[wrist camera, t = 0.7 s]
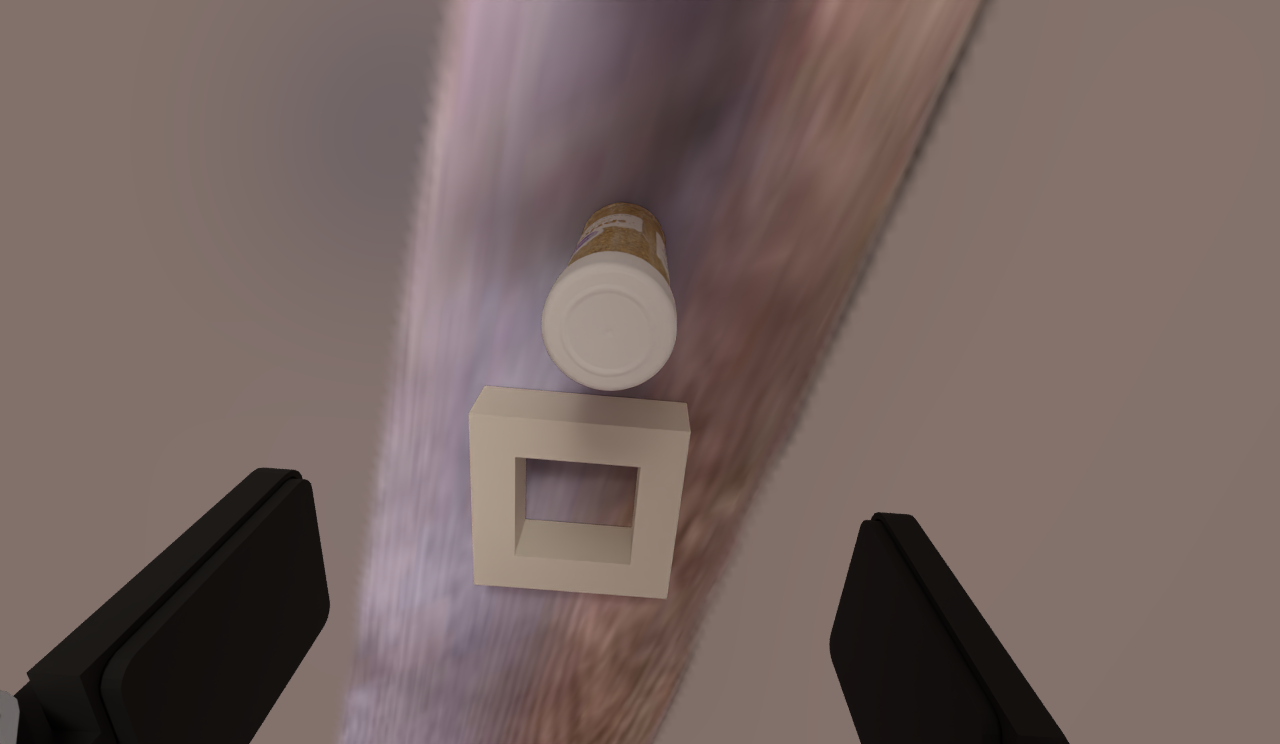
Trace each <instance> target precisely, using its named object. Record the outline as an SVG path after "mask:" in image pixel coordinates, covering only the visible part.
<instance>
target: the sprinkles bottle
mask: <svg viewBox="0 0 1280 744" xmlns="http://www.w3.org/2000/svg"><path fill="white" fill-rule="evenodd" d="M541 331H542V337H543V341H544V344H545V347H546V349H547V352H548V354H549V356H550V357H551V359H552V360H553V362H554V363H555V365H556V366H557V367H558V368H559V369H560V370H561V371H562V372H563V373H564V374H565V375H566V376H568V377H569V378H571V379H572V380H574V381H576V382H577V383H579V384H582V385H584V386H587V387H590V388H593V389H598V390H605V391H617V390H624V389H628V388H632V387H635V386H637V385H640V384H642V383H644V382H645V381H647V380H649V379H650V378H651V377H653V376H654V375H655V374H657V373H658V372H659V371H660V370H661V368H662V367H663V366H664V365H665V363H666V362H667V361H668V359H669V357H670V355H671V353H672V351H673V348H674V345H675V342H676V336H677V311H676V305H675V300H674V297H673V294H672V291H671V289H670V279H669V270H668V264H667V256H666V250H665V237H664V234H663V231H662V229H661V225H660V224H659V222H658V221H657V220H656V218H655V217H654V216H653V215H652V214H651V213H650V212H649V211H648V210H646V209H645V208H643V207H640V206H638V205H635V204H630V203H623V202H621V203H614V204H611V205H607V206H605V207H603V208H602V209H600V210H598V211H597V212H595V213H594V214H593V215H592V217H591V218H590V219H589V220H588V221H587V223H586V225H585V227H584V229H583V233H582V236H581V238H580V240H579V242H578V244H577V246H576V248H575V250H574V252H573V254H572V257H571V259H570V261H569V263H568V267H567V268H566V269H565V270H564V271H563V272H562V273H561V274H560V276H559V277H558V278H557V280H556V281H555V283H554V285H553V287H552V288H551V291H550V293H549V295H548V297H547V299H546V302H545V305H544V308H543V313H542V319H541Z"/></svg>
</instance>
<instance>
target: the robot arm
mask: <svg viewBox="0 0 1280 744" xmlns="http://www.w3.org/2000/svg"><path fill="white" fill-rule="evenodd" d="M329 608H330V601H329V594H328V588H327V581H326V575H325V568H324V562H323V555H322V549H321V542H320V536H319V530H318V523H317V517H316V510H315V504H314V498H313V491H312V486H311V483H310V482H309V481H308V480H305V479H302V475H301V474H300V473H299V472H298V471H296V470H289V469H275V468H258V469H256V470H254V471H253V472H252V473H251V474H250V475H248V476H247V477H246V478H245V479H244V480H243V481H242V482H241V483H239V484H238V485H237V486H236V487H235V488H234V489H233V490H232V491H231V492H230V493H228V494H227V495H226V496H225V497H224V498H223V499H221V500H220V501H219V502H218V503H217V504H216V505H215V506H214V507H212V508H211V509H210V510H209V511H208V512H207V513H206V514H205V515H203V516H202V517H201V518H200V519H199V520H198V521H197V522H196V523H194V524H193V525H192V526H191V527H190V528H189V529H188V530H187V531H185V532H184V533H183V534H182V535H181V536H180V537H179V538H178V539H177V540H175V541H174V542H173V543H172V544H171V545H170V546H169V547H167V548H166V549H165V550H164V551H163V552H162V553H161V554H160V555H158V556H157V557H156V558H155V559H154V560H153V561H152V562H151V563H149V564H148V565H147V566H146V567H145V568H144V569H143V570H142V571H141V572H139V573H138V574H137V575H136V576H135V577H134V578H133V579H131V580H130V581H129V582H128V583H127V584H126V585H125V586H124V587H123V588H121V589H120V590H119V591H118V592H117V593H116V594H115V595H113V596H112V597H111V598H110V599H109V600H108V601H107V602H106V603H105V604H103V605H102V606H101V607H100V608H99V609H98V610H97V611H95V612H94V613H93V614H92V615H91V616H90V617H89V618H88V619H87V620H85V621H84V622H83V623H82V624H81V625H80V626H79V627H78V628H76V629H75V630H74V631H73V632H72V633H71V634H70V635H68V636H67V637H66V638H65V639H64V640H63V641H62V642H61V643H60V644H58V645H57V646H56V647H55V648H54V649H53V650H52V651H51V652H49V653H48V654H47V655H46V656H45V657H44V658H43V659H42V660H40V661H39V662H38V663H37V664H36V665H35V666H34V667H33V668H31V669H30V670H29V671H28V672H27V675H28V677H29V679H30V681H29V682H28V683H27V684H26V685H25V686H24V687H23V688H22V689H21V690H19V691H18V692H17V693H16V694H15V695H14V696H12V695H11V694H9V693H8V692H6V691H1V690H0V744H249V743H250V742H251V740H252V739H253V737H254V736H255V734H256V732H257V731H258V729H259V728H260V726H261V725H262V723H263V721H264V720H265V718H266V717H267V715H268V713H269V712H270V710H271V709H272V707H273V705H274V704H275V703H276V701H277V699H278V698H279V696H280V694H281V693H282V691H283V690H284V688H285V687H286V685H287V684H288V682H289V680H290V679H291V677H292V676H293V674H294V673H295V671H296V670H297V668H298V666H299V665H300V663H301V662H302V660H303V658H304V657H305V655H306V654H307V652H308V651H309V649H310V648H311V646H312V644H313V643H314V641H315V639H316V638H317V636H318V635H319V633H320V632H321V630H322V628H323V627H324V625H325V623H326V621H327V618H328V614H329ZM830 654H831V659H832V662H833V665H834V668H835V671H836V673H837V676H838V679H839V682H840V685H841V688H842V691H843V694H844V696H845V699H846V702H847V705H848V707H849V711H850V713H851V716H852V719H853V722H854V725H855V727H856V731H857V733H858V736H859V739H860V742H861V744H1069V742H1068V741H1067V739H1066V737H1065V735H1064V734H1063V732H1062V731H1061V729H1060V728H1059V727H1058V725H1057V724H1056V722H1055V721H1054V719H1053V718H1052V716H1051V715H1050V714H1049V712H1048V711H1047V709H1046V708H1045V706H1044V705H1043V703H1042V702H1041V700H1040V699H1039V698H1038V696H1037V695H1036V693H1035V692H1034V690H1033V689H1032V687H1031V686H1030V684H1029V683H1028V682H1027V680H1026V679H1025V677H1024V676H1023V674H1022V673H1021V671H1020V670H1019V669H1018V667H1017V666H1016V664H1015V663H1014V661H1013V660H1012V658H1011V657H1010V655H1009V654H1008V653H1007V651H1006V650H1005V648H1004V647H1003V645H1002V644H1001V642H1000V641H999V639H998V638H997V637H996V635H995V634H994V632H993V631H992V629H991V628H990V626H989V625H988V624H987V622H986V621H985V619H984V618H983V616H982V615H981V613H980V612H979V610H978V609H977V607H976V606H975V605H974V603H973V602H972V600H971V599H970V597H969V596H968V595H967V593H966V592H965V590H964V589H963V587H962V586H961V584H960V583H959V582H958V580H957V578H956V577H955V576H954V574H953V573H952V571H951V570H950V568H949V567H948V566H947V564H946V563H945V561H944V560H943V558H942V557H941V555H940V554H939V552H938V551H937V550H936V548H935V547H934V545H933V544H932V542H931V541H930V539H929V538H928V536H927V535H926V534H925V532H924V531H923V529H922V528H921V526H920V525H919V523H918V522H917V520H916V519H915V518H914V517H913V516H911V515H907V514H895V513H880V512H878V513H875V514H874V515H873V516H872V518H871V520H865V521H863V522H862V524H861V526H860V530H859V533H858V537H857V541H856V544H855V548H854V552H853V555H852V559H851V563H850V566H849V570H848V573H847V577H846V581H845V584H844V588H843V592H842V595H841V599H840V603H839V606H838V610H837V613H836V617H835V621H834V625H833V628H832V632H831V636H830Z"/></svg>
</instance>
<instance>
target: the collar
mask: <svg viewBox="0 0 1280 744" xmlns="http://www.w3.org/2000/svg"><path fill="white" fill-rule="evenodd" d="M690 433H691V431H690V424H689V416H688V409H687V403H682V402H671V401H659V400H647V399H636V398H624V397H612V396H600V395H589V394H577V393H565V392H553V391H542V390H530V389H518V388H506V387H495V386H484V388H483V390H482V391H481V393H480V395H479V397H478V398H477V400H476V402H475V403H474V405H473V407H472V409H471V410H470V412H469V440H470V473H471V505H472V537H473V570H474V584H476V585H489V586H502V587H515V588H528V589H541V590H555V591H568V592H581V593H594V594H607V595H620V596H633V597H647V598H660V599H667V594H668V587H669V580H670V573H671V566H672V559H673V552H674V545H675V538H676V531H677V524H678V517H679V510H680V503H681V496H682V489H683V482H684V475H685V468H686V461H687V454H688V447H689V440H690ZM526 458H534V459H546V460H558V461H570V462H583V463H595V464H607V465H619V466H631V467H638V470H637V480H636V490H635V499H634V509H633V518H632V528H631V527H619V526H606V525H593V524H581V523H568V522H555V521H543V520H530V519H525V512H526Z"/></svg>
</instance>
